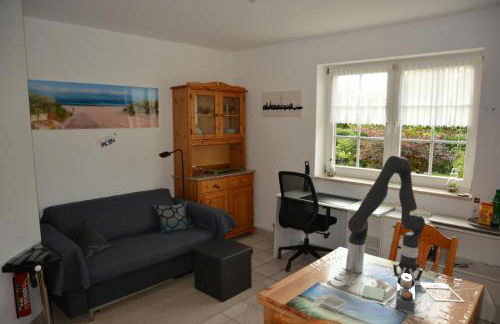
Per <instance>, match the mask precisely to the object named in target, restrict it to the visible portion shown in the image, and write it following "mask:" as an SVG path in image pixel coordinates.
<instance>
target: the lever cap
mask: <svg viewBox="0 0 500 324" xmlns="http://www.w3.org/2000/svg"><path fill="white" fill-rule="evenodd" d="M411 285H412V277H411V275H409V274H406V273H403V275H402V276H401V282H400V287H402V288H406V289H410V290H411Z"/></svg>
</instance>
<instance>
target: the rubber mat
mask: <svg viewBox="0 0 500 324" xmlns="http://www.w3.org/2000/svg"><path fill="white" fill-rule="evenodd" d="M361 297H362V298H366V299H369V300H374V301H377V302H381V301H382V303H384V302H383V301H384V298H383V297H385V289H383V288H379V287H375V286H371V285H366V284H364V287H363V291H362V294H361Z"/></svg>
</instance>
